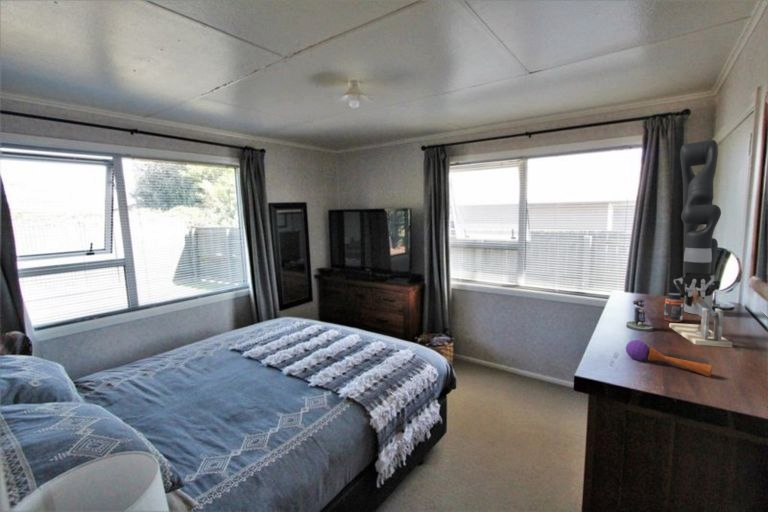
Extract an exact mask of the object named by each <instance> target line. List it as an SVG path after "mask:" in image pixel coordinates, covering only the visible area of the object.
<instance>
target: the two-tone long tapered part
mask: <svg viewBox="0 0 768 512" xmlns="http://www.w3.org/2000/svg"><path fill="white" fill-rule="evenodd" d="M625 352H626V353H627V355H628V357H630V358H631V359H632V360H636V361H644V360H646V359H647V360H648V362H649V361H667V362H669V363H671V364H673V365H677V366H679V367H682V368H684V369H687V370H690V371H693V372H695V373H697V374H700V375H702V376H705V377H708V378H711V375H712V372H713V365H711V364H708V363H701V362H695V361H691V360H686V359H680V358H675V357H671V356H666V355H664V354H663V353H661V352H659V351H658V350H656V349H655V348H654V347H652V346H651V347H649V345H648V344H646V343H645V342H644V341H641V340H638V339H637V340H635V339H634V340H631V341H628V343H627V344H626V346H625Z"/></svg>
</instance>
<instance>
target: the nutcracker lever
mask: <svg viewBox="0 0 768 512" xmlns="http://www.w3.org/2000/svg"><path fill="white" fill-rule="evenodd" d="M691 297H692V303H693V304H694V305H697V306H698V307H699V308H700V309H699V313H698V314H699V317H701V318H702V308H706V309H708V310H710V318H715V317H718V313H716V312H715V310H714V309H713V308H712V309H711V308H710V307H709V306H708V305H707V304H706V303H705V302H704V299H703V298H702V297H701V296H700V295H699V294H698V293H696V292H695V291H693V293H692V296H691ZM698 314H697V315H698Z"/></svg>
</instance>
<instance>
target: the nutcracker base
mask: <svg viewBox="0 0 768 512" xmlns="http://www.w3.org/2000/svg"><path fill="white" fill-rule="evenodd" d="M714 311H715V312H716V313H718V317H714V323H713V331H712V330H711V329H710V318H711V317H710V310H708V309H706V308H702V317H701V319H700V320H701V322H700V324H690V323H677V322H670V323H669V326H668V327H669V328H670V329H672V330H673V331H674V332H676V333H678V334H679V335H681V336H682V337H683V338H685V339H686V340H687V341H689V342H691V343H692V344H694V345H698V346H713V347H724V348H725V347H727V348H733V342H732V341H731V340H728V339H727V338H725V337H723V336H722V334H723V322H724V310H722V309H720V308H714Z"/></svg>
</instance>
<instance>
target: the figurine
mask: <svg viewBox="0 0 768 512" xmlns="http://www.w3.org/2000/svg"><path fill="white" fill-rule="evenodd" d="M632 303H633V305H634V315H633V317H634V319H633V320H634V321H633V320H629V321H627V322H626V325H625V326H626V328H627V329H628V330H629V329H630V330H632V331H638V332H643V333H644V332H645V333H646V332H652V331H654V325H652V324H651V323H647V322H646V313H648V312H647V311H648V310H647V309H646V305H645V300H644V299H642V298H641V297H639V298H636V299H634V300H633V301H632Z"/></svg>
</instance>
